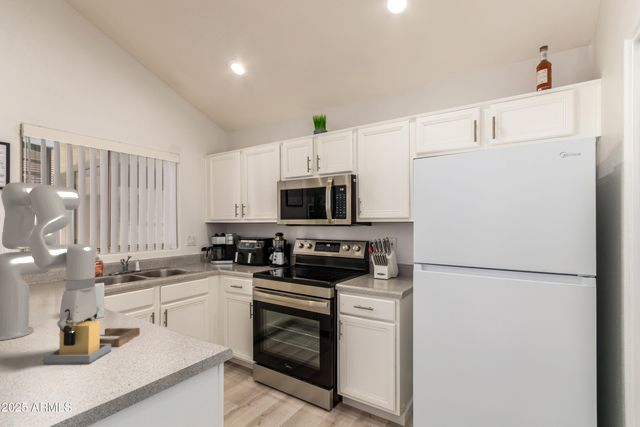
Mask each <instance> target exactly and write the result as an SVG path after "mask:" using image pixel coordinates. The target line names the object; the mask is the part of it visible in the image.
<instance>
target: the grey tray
mask: <svg viewBox="0 0 640 427" xmlns="http://www.w3.org/2000/svg"><path fill="white" fill-rule="evenodd" d="M111 351H112V347H111V344H100V348H99V349H98V350H96V351H95V352H93V353H91V354H89V355H59V348H58V349H56V350H54V351H52V352H51V351H50V352H49V353H47V354H45V355H43V365H90V364H92V363H93V362H95V361H98V360H99V359H100V358H103V357H104V356H106V355H107V354H109V353H111Z"/></svg>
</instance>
